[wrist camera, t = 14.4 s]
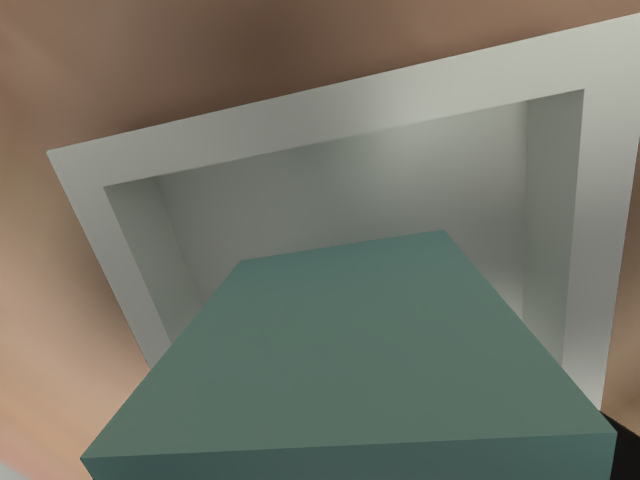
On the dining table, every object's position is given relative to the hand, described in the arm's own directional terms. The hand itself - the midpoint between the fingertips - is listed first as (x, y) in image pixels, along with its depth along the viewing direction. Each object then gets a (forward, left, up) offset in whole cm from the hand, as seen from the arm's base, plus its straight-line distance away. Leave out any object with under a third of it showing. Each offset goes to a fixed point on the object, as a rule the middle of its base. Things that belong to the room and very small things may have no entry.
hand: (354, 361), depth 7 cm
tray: (0, 0, -3) cm, 3 cm away
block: (0, 0, -1) cm, 1 cm away
